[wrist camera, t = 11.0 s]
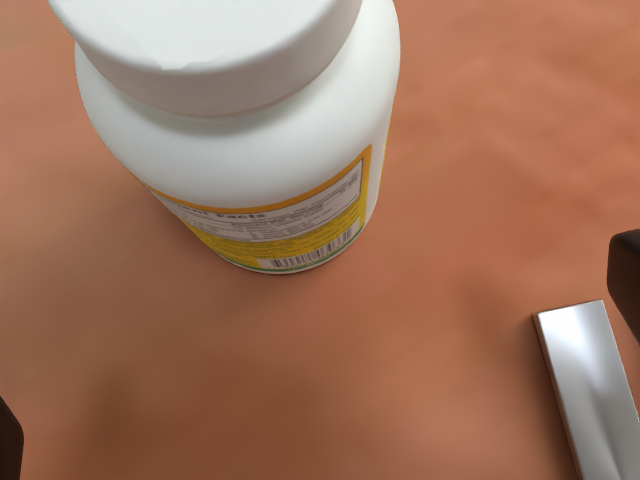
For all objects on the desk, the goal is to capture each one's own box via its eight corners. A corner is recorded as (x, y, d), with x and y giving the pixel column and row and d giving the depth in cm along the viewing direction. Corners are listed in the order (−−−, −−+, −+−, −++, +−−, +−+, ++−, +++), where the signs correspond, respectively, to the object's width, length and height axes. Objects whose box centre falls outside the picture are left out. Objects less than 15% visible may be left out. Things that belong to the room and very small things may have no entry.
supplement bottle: (325, 311, 16) (287, 216, 6) (148, 223, 16) (-123, 19, 7) (413, 135, 16) (497, -180, 7) (242, 59, 17) (115, -316, 8)
